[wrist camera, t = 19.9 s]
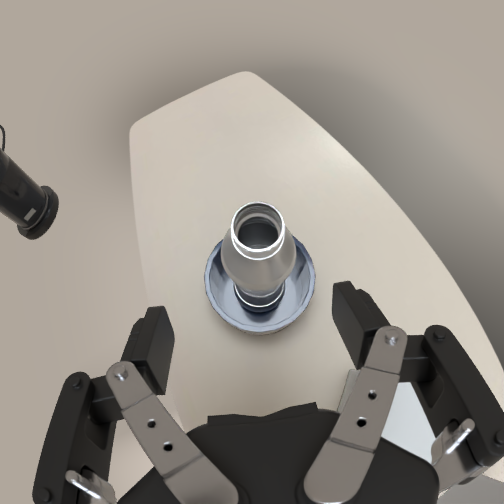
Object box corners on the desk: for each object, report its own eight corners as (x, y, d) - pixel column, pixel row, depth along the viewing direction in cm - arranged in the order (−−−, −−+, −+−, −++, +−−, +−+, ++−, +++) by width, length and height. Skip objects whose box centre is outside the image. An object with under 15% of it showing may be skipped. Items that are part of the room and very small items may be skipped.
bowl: (198, 307, 37) (184, 298, 31) (241, 232, 41) (237, 209, 34) (280, 350, 35) (284, 351, 29) (319, 269, 39) (331, 252, 32)
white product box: (404, 377, 33) (469, 383, 19) (386, 435, 30) (441, 466, 16) (349, 367, 34) (399, 374, 20) (329, 427, 31) (367, 467, 17)
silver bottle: (235, 315, 36) (208, 277, 18) (234, 266, 39) (210, 185, 20) (285, 313, 36) (311, 273, 17) (282, 264, 39) (300, 181, 20)
